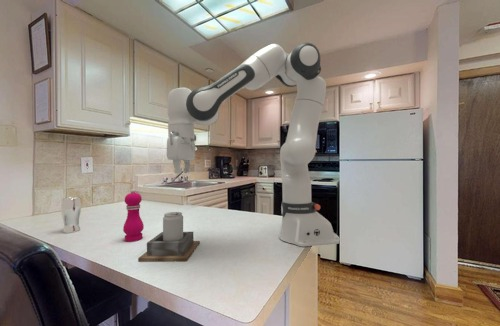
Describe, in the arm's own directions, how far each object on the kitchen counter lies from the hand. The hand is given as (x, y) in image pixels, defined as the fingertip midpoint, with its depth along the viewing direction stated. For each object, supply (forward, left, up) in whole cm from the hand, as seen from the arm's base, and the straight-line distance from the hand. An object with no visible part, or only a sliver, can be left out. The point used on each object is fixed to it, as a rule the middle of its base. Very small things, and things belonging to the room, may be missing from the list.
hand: (182, 173), depth 79 cm
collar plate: (+3, +4, -26) cm, 27 cm away
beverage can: (+2, +5, -26) cm, 26 cm away
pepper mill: (+23, -9, -27) cm, 36 cm away
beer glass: (+58, -20, -27) cm, 67 cm away
